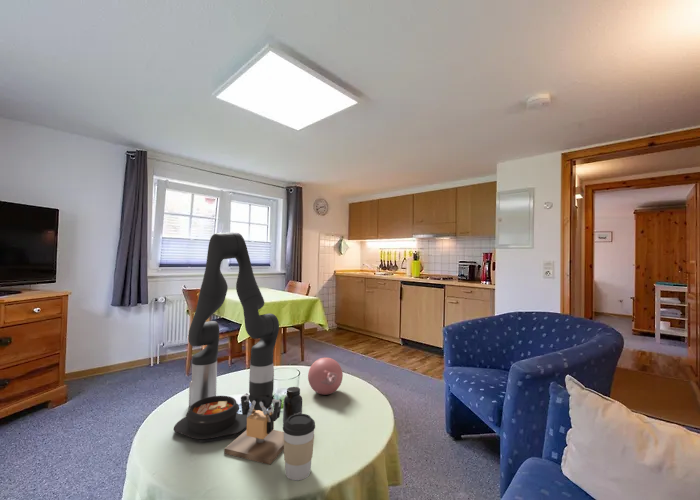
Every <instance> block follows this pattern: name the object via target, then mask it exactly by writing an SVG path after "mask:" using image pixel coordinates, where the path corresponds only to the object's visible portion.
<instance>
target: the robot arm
mask: <svg viewBox="0 0 700 500" xmlns="http://www.w3.org/2000/svg"><path fill="white" fill-rule="evenodd" d="M206 255H207V256H206V263H205V268H204V275H203V279H202V282H201V285H200V290H199V293H198V299H197V304H196V307H195V308H196V309H195V312H194V315H193V318H192V320H191V323H190V327H189V330H188V335H187V336H188V337H187V338H188V343H189V344H190V346H192V347H203V346H205V348H203V349H202V350H200V351H198V352H197V353H195V354H194V355H193V356H192V359H191V360H192V361H191V363H192V364H191V381H189V383H188V384H189V386H188V387H189V388H188V392H189V393H188V407H191V406H192V404H194V403H195V402H197V401H199V400H201V399H204V398H208V397H212V396H217V383H218V382H217V381H218V380H217V378H218V377H217V376H218V356H219V342H220V325H219V323H218V322H217V321H216V320H209V321H207V320H208V319H209V318H210V317H211V316H213V315H214V314H215V313H216V312H217V311H218V310H219V309H220V308H221V307H222V306H223V304H224V302H225V300H226V297H227V292H228V288H229V287H228V283H227V280H226V278H225V277H224V275H223V273H222V272H221V267H222V266H221V264H222V263H223V260H228V259H230V260H231V259H235V260H236V262H237V264H238V274H237V278H236V279H237V280H236V282H235V284H236V285H235V287H236V288H235V290H236V294H237V297H238V299H239V301H240V304H241V307H242V311H243V319H244V327H245V331H246V334H247V335H248V336H249V337H250V338H251V339H254V340H259V341H258V342H257V343H256V344H254V345H252V347H251V348H250V349H251V351H250V368H249V377H248V378H249V379H248V381H249V382H248V383H249V386H248V389H249V390H248V393H245V394H243V395H242V396H240V404H241V405H240V406H241V413H242V414H243V415H246V416H247V417H249V416H250V415H252V414H253V413H254V412H256V410H260V411H263V413H264V416H266V418H267V421H268V422H267V434H269V433H271V431H272V430H274V429H273V426H274V427H275V425H274V424H275V423H274V422H276V421H277V420H278V419H279V418H280V415H281V409H282V405H283V400H282V399H280V398H279V399H276V398H275V397H274V387H275V385H274V383H275V381H274V380H275V368H274V350H275V347H276V343H277V338H278V335H279V330H280V321H279V319H278V316H276V315H275V314H273V313H265V314H260V313H259V311H260V309H262V308H263V307H264V306H265V299H264V297H263V294H262V291H261V290H260V288H259V285H258V283H257V280H256V278H255V275H254V270H253V266H252V263H251V258H250V253H249V251H248V246H247V243H246V241H245V239H244V237H243V235H242V234H241V233H240V232H233V231H232V232H218V233H217V232H215V233H214V234H212V236H211V237H210V239H209V241H208V247H207V254H206ZM250 404H251V405H250Z"/></svg>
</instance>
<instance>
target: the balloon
mask: <svg viewBox="0 0 700 500" xmlns="http://www.w3.org/2000/svg"><path fill="white" fill-rule="evenodd" d="M343 376H344V375H343V369H342V366H341V365H340V364H339V362H338V361H337V360H335V359H333V358H331V357H321V358H317V359H316V360H315V361H314V362H313V363H312V364H311V365H310V367H309V370H308V373H307V380H308V383H309V385H310V388H311V389H312V390H313V391H314V392H315V393H317V394H318V395H319V394H320V395H323V396H324V395H325V396H326V395H331V394H334V393H335V392H336V391H337V390H338V389H339V388H340V386H341V384H342V383H343Z"/></svg>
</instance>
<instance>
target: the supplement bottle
mask: <svg viewBox="0 0 700 500" xmlns="http://www.w3.org/2000/svg"><path fill="white" fill-rule="evenodd" d="M282 405H283V407H282V408H283V410H282V423H284V422H285V421H286V420H287V419H288V418H289V417H290V416H292V415H294V414H303V397H302V395H301V388H300V387H298V386H291V387H288V388H287V389H286V396H285V397H284V398H283V403H282Z"/></svg>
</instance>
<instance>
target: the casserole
mask: <svg viewBox="0 0 700 500" xmlns="http://www.w3.org/2000/svg"><path fill="white" fill-rule="evenodd" d="M239 410H240V406H239V404H238V402H237V400H236V399H235V398H234V397H232V396H228V395H216V396H212V397H208V398H204V399H201V400H199V401H197V402H195V403H194V404H192V406H189V409H188V411H187V412H186V414H185V416H184V417H183V418H181V419H180V420H178V421H177V423H175V424H174V426H173V431H174V432H175V433H178V434H181V435H183V436H186V437H188V438H190V439H197V440H208V439H214V438H218V437H219V438H220V437H223V436H230V435H235V434H238V433H239V434H240V432H242V431H244V430H245V429H247V416H246V415H243V414H241V413H238V412H239Z"/></svg>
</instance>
